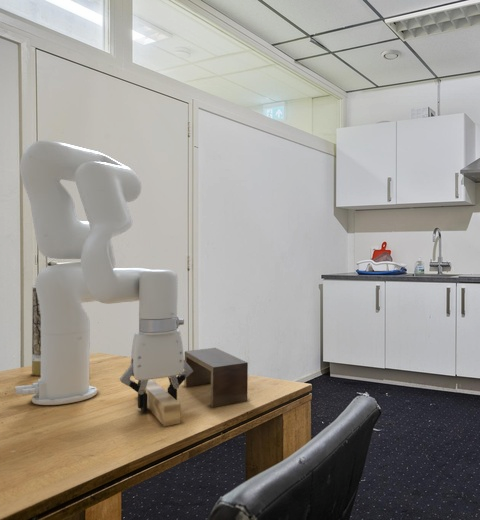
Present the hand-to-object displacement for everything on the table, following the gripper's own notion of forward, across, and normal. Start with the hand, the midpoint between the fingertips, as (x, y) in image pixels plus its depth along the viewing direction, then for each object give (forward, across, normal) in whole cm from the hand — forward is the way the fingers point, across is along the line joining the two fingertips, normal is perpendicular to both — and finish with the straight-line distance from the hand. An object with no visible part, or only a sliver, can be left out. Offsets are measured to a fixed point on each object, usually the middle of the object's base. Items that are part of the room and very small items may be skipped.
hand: (157, 407), depth 102 cm
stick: (0, 0, 0) cm, 0 cm away
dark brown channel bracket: (0, -14, -5) cm, 15 cm away
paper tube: (+1, +17, -52) cm, 55 cm away
